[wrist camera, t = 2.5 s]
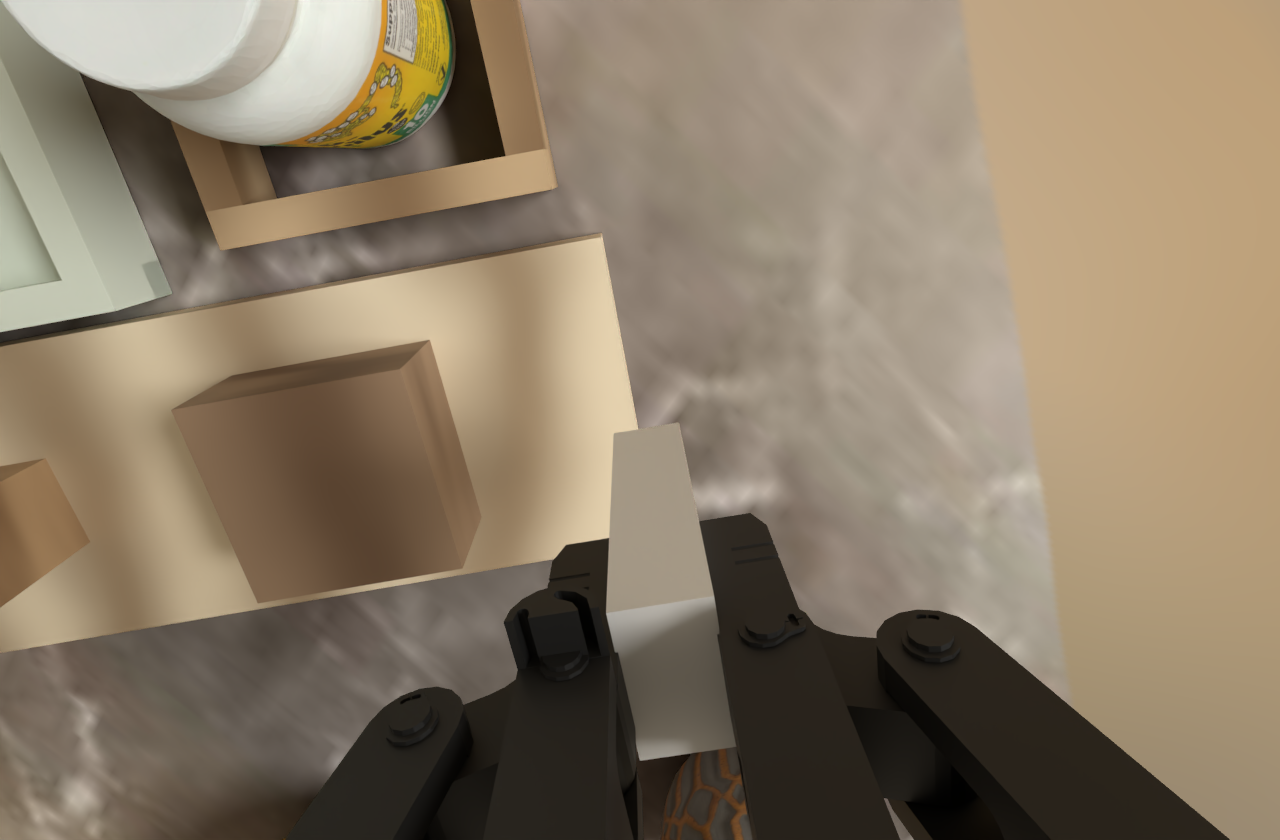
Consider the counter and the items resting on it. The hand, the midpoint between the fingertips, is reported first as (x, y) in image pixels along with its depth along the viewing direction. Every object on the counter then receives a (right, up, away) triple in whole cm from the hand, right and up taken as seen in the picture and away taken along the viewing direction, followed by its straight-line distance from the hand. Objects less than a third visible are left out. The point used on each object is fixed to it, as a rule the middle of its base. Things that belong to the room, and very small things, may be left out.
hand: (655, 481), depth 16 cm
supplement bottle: (-8, +12, +3) cm, 14 cm away
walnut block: (-9, +1, +5) cm, 10 cm away
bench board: (-12, 0, +7) cm, 14 cm away
